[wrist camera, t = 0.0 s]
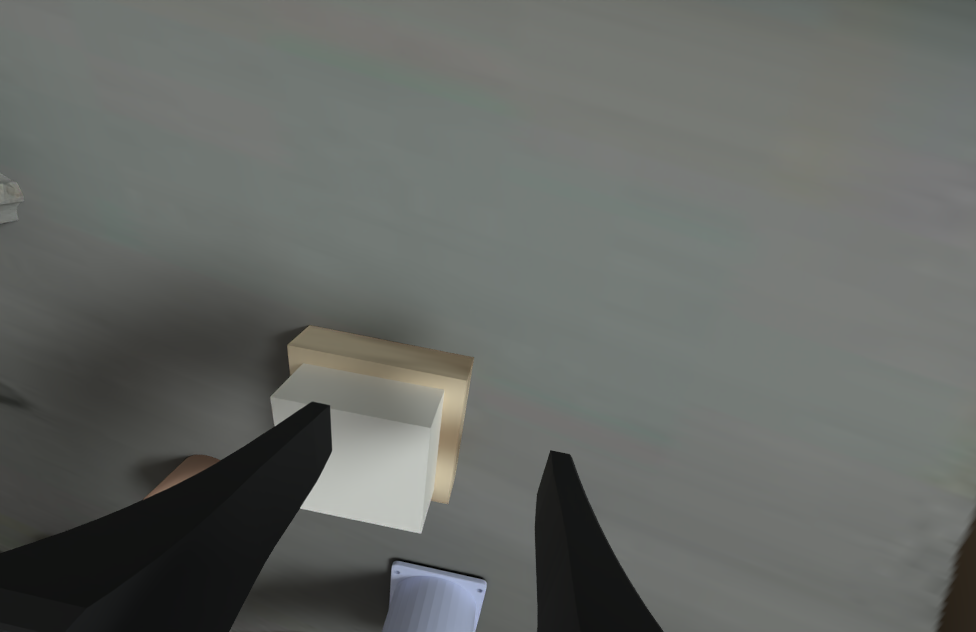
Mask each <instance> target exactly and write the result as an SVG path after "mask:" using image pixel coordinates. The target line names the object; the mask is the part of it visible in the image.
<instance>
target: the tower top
mask: <svg viewBox="0 0 976 632" xmlns="http://www.w3.org/2000/svg"><path fill="white" fill-rule="evenodd" d="M270 399H271V406H272V413H273V419H274V426H276V425H278V424H279V423H281V422H282V421H284V420H285V419H286V418H288V417H289V416H291V415H292V414H294V413H295V412H297V411H298V410H300V409H301V408H303V407H304V406H306V405H307V404H309V403H310V402H312V401H313V402H317V403H322V404H327V405H330V414H331V435H332V452H331V455H330V457H329V459H328V461H327V463H326V465H325V467H324V469H323V471H322V473H321V475H320V477H319V479H318V481H317V482H316V484H315V486H314V487H313V489H312V490H311V492H310V493H309V495H308V496H307V498H306V500H305V501H304V503H303V504H302V506H301V507H300V508H301V509H305V510H310V511H315V512H320V513H325V514H329V515H334V516H339V517H344V518H349V519H353V520H358V521H363V522H368V523H373V524H377V525H382V526H387V527H392V528H397V529H401V530H406V531H411V532H416V533H421V532H422V528H423V525H424V522H425V518H426V515H427V511H428V508H429V505H430V501H431V498H432V494H433V491H434V484H435V475H436V465H437V456H438V446H439V437H440V427H441V418H442V409H443V399H444V390H443V389H438V388H432V387H427V386H422V385H416V384H411V383H406V382H401V381H395V380H390V379H385V378H379V377H374V376H369V375H364V374H358V373H353V372H348V371H342V370H337V369H332V368H327V367H321V366H316V365H311V364H305V363H303V364H302V365H301V366H300V367H299V368H298V369H297V370H296V371H295V372H294V373H293V374H292V375H291V376H290V377H289V378H288V379H287V380H286V381H285V382H284V383H283V384H282V385H281V386H280V387H279V388H278V389H277V390H276V391H275V392H274V393H273V394H272V395H271V396H270Z"/></svg>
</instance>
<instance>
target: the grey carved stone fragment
mask: <svg viewBox="0 0 976 632" xmlns="http://www.w3.org/2000/svg"><path fill="white" fill-rule="evenodd" d="M21 202H24V197H23V194H22V191H21V190H20V188H19V186H18V184H17V182H15V181H13V180H10V179H9V178H7V177H5V176H4V175H2V174H1V173H0V224H1V223H6V222H12V221H18V216H17V206H18V205H19V203H21Z"/></svg>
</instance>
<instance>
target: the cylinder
mask: <svg viewBox="0 0 976 632" xmlns="http://www.w3.org/2000/svg"><path fill="white" fill-rule="evenodd" d="M219 461H220V460H218V459H216V458H213V457H210V456H206V455H192V456H189V457H188V458H186V459H185V460H184V461H183V462H182V463H181V464H180V465H179V466H178V467H177V468H176V469H175V470H174V471H173V472H171V473H170V474H169V475H168V476H167V477H166V478H165V479H164V480H163V481H162V482H161V483H160V484H159V485H158V486H157V487H156V488H155V489H154V490H153V491H152V492H150V493H149V494H148V495H147V496H146V497H145V498H144V499H146V498H148V497H150V496H153V495H155V494H157V493H159V492H161V491H164V490H166V489H168V488H170V487H172V486H174V485H176V484H178V483H180V482H182V481H184V480H186V479H188V478H190V477H192V476H194V475H196V474H198V473H199V472H201V471H203V470H205V469H207V468H209V467H210V466H212V465H214V464H216V463H217V462H219ZM144 499H143V500H144Z"/></svg>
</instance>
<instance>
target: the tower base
mask: <svg viewBox="0 0 976 632" xmlns="http://www.w3.org/2000/svg"><path fill="white" fill-rule="evenodd" d="M287 349H288V358H289V368H290V376H291V375H292V374H293V373H294V372H295V371H296V370H297V369H298V368H299V367H300V366H301V365H302V364H303V363H305V364H311V365H316V366H321V367H327V368H332V369H337V370H342V371H348V372H353V373H358V374H364V375H369V376H374V377H379V378H385V379H390V380H395V381H401V382H406V383H411V384H416V385H422V386H427V387H432V388H438V389H443V390H444V399H443V409H442V418H441V427H440V437H439V446H438V456H437V465H436V475H435V484H434V491H433V494H432V498H431V501H435V502H440V503H445V504H448V503H449V499H450V495H451V491H452V487H453V482H454V478H455V474H456V468H457V461H458V455H459V449H460V442H461V436H462V430H463V423H464V417H465V411H466V404H467V398H468V392H469V386H470V379H471V373H472V367H473V360H474V357H469V356H464V355H459V354H453V353H448V352H443V351H438V350H433V349H428V348H423V347H418V346H413V345H408V344H403V343H398V342H393V341H387V340H382V339H377V338H372V337H367V336H362V335H357V334H352V333H347V332H342V331H337V330H332V329H327V328H321V327H316V326H311V325H309V326H308V327H307V328H306V329H305V330H304V331H302V332H301V333H300V334H299V335H298V336H297V337H296V338H295V339H293V340H292V341H291V342H290V343H289V344H288V345H287Z"/></svg>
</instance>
